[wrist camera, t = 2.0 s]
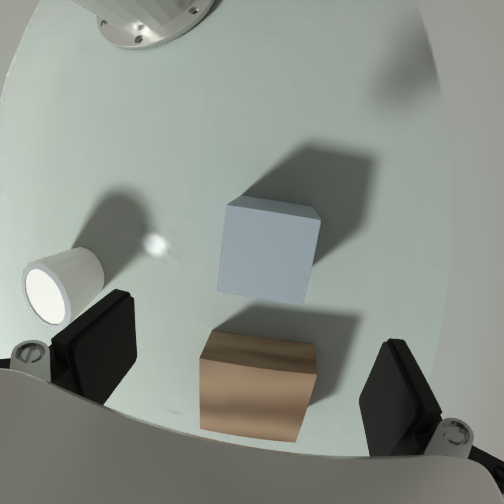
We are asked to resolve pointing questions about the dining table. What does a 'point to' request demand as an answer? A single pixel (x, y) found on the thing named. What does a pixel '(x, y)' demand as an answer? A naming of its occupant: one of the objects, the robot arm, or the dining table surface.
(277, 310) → the dining table surface
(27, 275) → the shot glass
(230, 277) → the slate cube
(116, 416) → the robot arm
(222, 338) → the walnut block
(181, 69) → the dining table surface
